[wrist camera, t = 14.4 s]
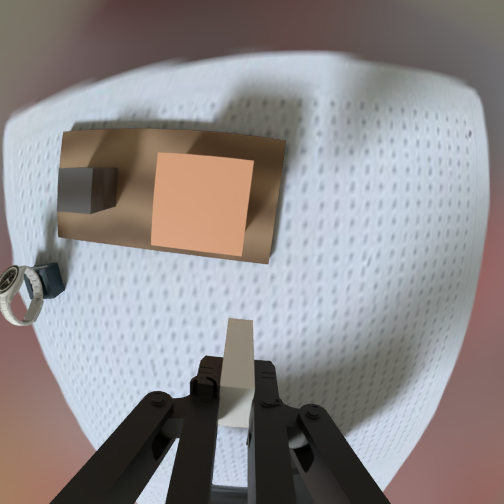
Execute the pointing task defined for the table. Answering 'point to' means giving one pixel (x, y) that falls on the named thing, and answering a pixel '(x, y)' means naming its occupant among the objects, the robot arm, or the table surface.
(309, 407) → the robot arm
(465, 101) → the table surface
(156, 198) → the peach cube
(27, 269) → the watch
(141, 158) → the post board
